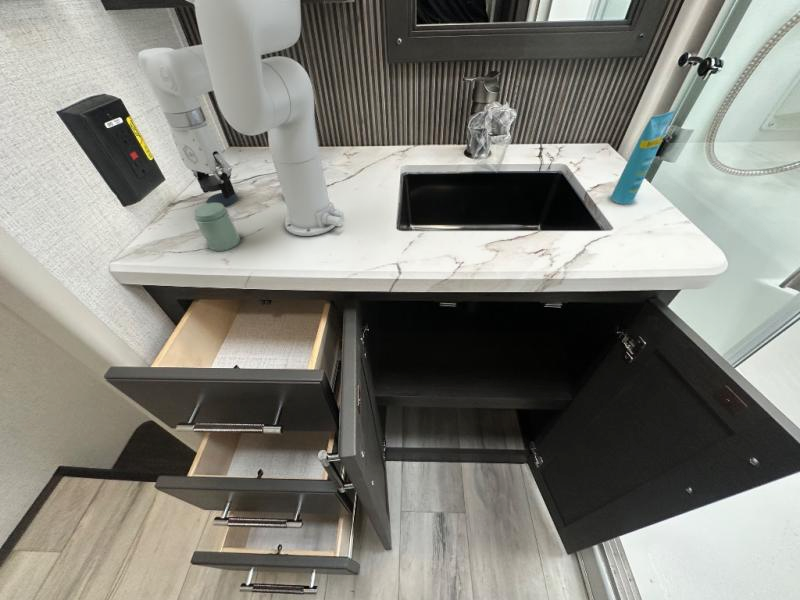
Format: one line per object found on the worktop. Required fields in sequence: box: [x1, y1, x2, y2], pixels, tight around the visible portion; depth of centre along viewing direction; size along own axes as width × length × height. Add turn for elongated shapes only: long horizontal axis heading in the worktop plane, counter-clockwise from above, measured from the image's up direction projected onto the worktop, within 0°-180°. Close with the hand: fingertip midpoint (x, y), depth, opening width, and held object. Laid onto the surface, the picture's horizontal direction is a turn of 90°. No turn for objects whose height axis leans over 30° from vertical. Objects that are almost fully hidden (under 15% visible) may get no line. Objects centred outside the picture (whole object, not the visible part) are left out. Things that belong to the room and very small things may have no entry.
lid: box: [198, 173, 222, 193], centre depth 84 cm, size 7×7×2 cm
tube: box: [610, 109, 676, 205], centre depth 74 cm, size 7×5×19 cm, turn 123°
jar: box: [193, 203, 241, 252], centre depth 70 cm, size 6×6×8 cm
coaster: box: [206, 192, 239, 208], centre depth 87 cm, size 8×8×1 cm
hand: (219, 192), depth 86 cm, fingers closed on lid, 6 cm apart
